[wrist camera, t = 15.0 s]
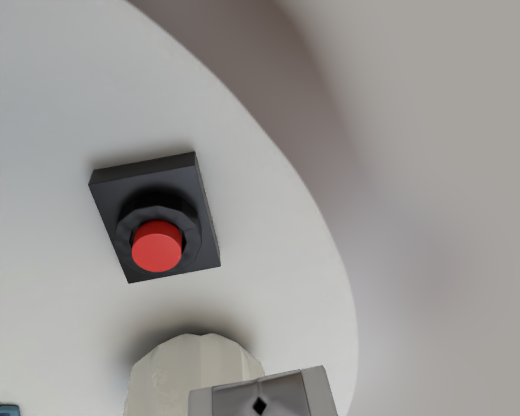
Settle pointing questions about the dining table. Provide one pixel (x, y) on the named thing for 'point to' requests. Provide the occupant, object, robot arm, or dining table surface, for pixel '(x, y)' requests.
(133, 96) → the dining table surface
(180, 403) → the vase
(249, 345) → the dining table surface
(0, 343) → the dining table surface
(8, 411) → the smartphone
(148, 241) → the button
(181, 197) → the control block
